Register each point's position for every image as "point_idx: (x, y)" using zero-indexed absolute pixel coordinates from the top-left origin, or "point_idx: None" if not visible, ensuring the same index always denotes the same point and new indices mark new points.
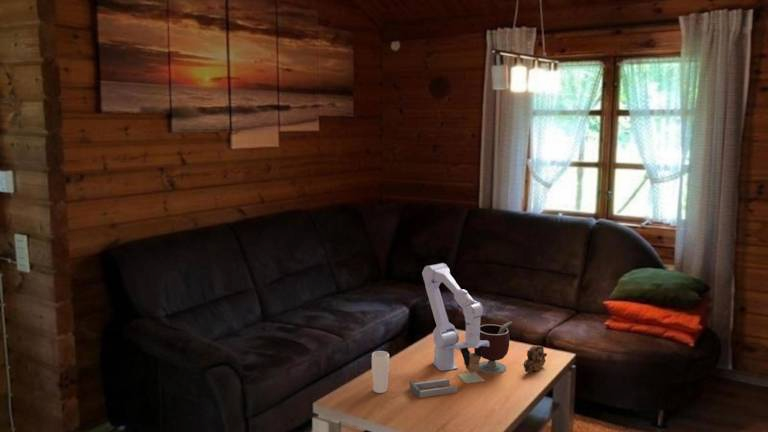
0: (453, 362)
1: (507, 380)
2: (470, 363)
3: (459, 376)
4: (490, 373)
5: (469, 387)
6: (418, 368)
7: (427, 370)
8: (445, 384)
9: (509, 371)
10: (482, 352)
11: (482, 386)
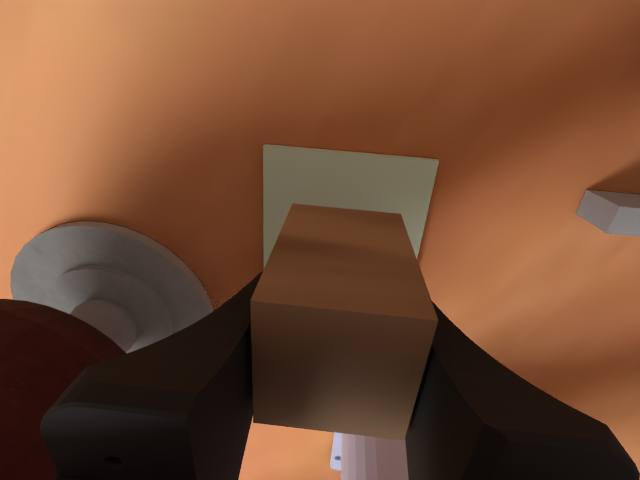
0: None
1: (60, 79)
2: (412, 261)
3: None
4: (157, 243)
5: (463, 75)
6: None
7: None
8: (633, 196)
9: (4, 223)
10: (151, 355)
11: (336, 47)
